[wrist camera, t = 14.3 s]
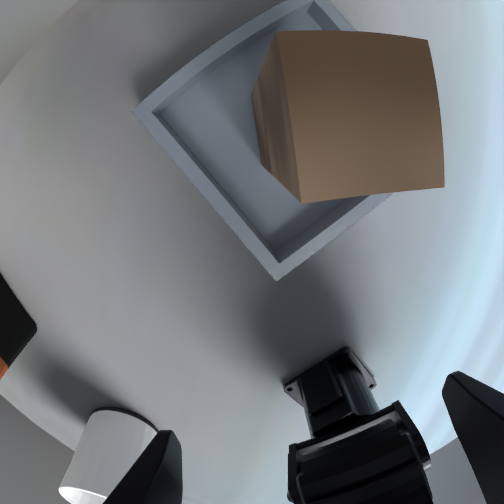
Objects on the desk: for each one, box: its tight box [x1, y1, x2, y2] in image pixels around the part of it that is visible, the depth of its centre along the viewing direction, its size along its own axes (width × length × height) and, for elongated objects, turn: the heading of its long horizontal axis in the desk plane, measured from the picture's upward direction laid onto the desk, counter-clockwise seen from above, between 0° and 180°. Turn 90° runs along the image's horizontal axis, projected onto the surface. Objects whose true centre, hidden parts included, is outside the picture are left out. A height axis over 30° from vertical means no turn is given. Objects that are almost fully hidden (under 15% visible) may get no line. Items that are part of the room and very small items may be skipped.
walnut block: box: [251, 30, 444, 204], centre depth 11 cm, size 4×4×11 cm
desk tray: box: [131, 0, 394, 281], centre depth 16 cm, size 13×13×2 cm
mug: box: [59, 407, 158, 504], centre depth 22 cm, size 11×9×10 cm
